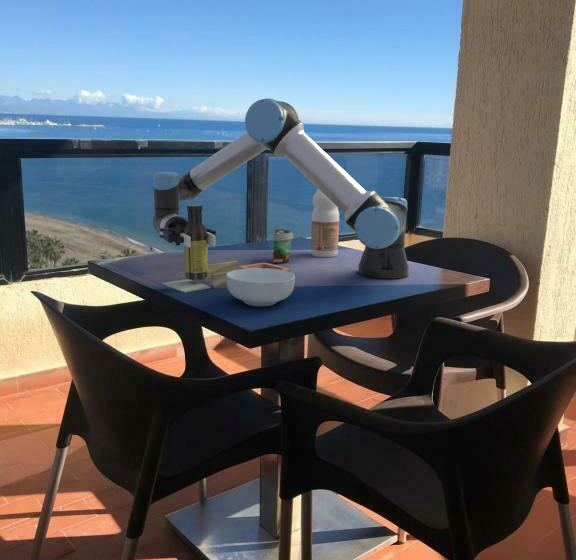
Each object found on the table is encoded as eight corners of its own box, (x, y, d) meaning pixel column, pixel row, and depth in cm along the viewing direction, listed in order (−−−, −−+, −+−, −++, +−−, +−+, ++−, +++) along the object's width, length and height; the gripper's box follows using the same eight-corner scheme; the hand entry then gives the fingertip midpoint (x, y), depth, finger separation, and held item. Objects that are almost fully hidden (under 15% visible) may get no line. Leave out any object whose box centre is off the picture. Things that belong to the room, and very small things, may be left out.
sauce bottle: (212, 277, 165) (212, 204, 160) (199, 281, 159) (199, 207, 154) (192, 274, 167) (192, 203, 163) (179, 278, 162) (178, 205, 157)
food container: (292, 265, 189) (293, 234, 187) (273, 265, 189) (273, 234, 187) (292, 258, 201) (293, 228, 199) (274, 257, 201) (275, 228, 199)
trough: (260, 279, 170) (260, 267, 169) (214, 287, 160) (214, 275, 159) (235, 272, 179) (235, 260, 178) (189, 279, 168) (189, 267, 167)
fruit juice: (305, 255, 206) (308, 173, 200) (318, 251, 214) (321, 172, 208) (329, 258, 202) (333, 174, 195) (342, 254, 209) (346, 173, 203)
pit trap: (290, 274, 178) (290, 269, 177) (264, 278, 171) (264, 273, 171) (264, 267, 186) (264, 262, 186) (239, 271, 180) (239, 266, 179)
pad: (210, 288, 159) (210, 286, 159) (184, 292, 154) (184, 291, 154) (187, 280, 167) (187, 278, 167) (162, 284, 162) (162, 283, 162)
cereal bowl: (308, 304, 147) (309, 276, 145) (255, 316, 136) (255, 286, 134) (264, 290, 159) (265, 264, 157) (212, 300, 148) (212, 272, 147)
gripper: (207, 239, 181) (235, 253, 161) (144, 242, 173) (166, 257, 153) (207, 214, 179) (236, 225, 159) (143, 217, 171) (165, 228, 151)
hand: (201, 241), depth 156 cm, fingers closed on sauce bottle, 6 cm apart
